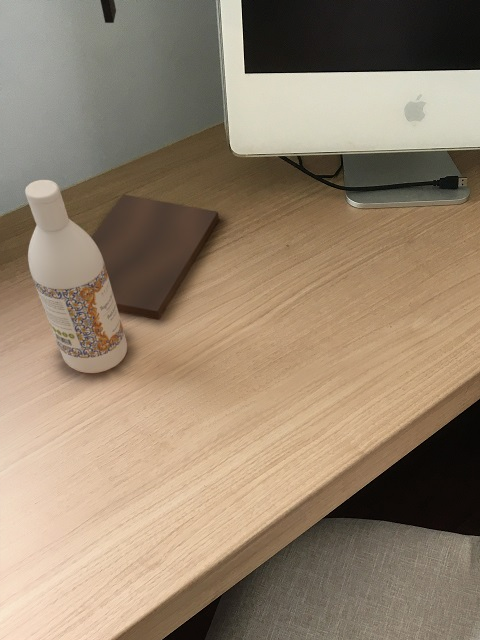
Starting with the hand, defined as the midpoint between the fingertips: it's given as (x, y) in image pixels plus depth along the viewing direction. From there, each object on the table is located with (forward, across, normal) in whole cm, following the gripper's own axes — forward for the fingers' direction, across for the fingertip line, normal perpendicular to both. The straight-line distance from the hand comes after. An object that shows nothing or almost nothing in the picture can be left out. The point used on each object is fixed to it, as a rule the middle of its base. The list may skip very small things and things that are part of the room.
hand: (34, 16), depth 72 cm
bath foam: (+29, 0, -13) cm, 32 cm away
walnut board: (+28, +4, +3) cm, 29 cm away
